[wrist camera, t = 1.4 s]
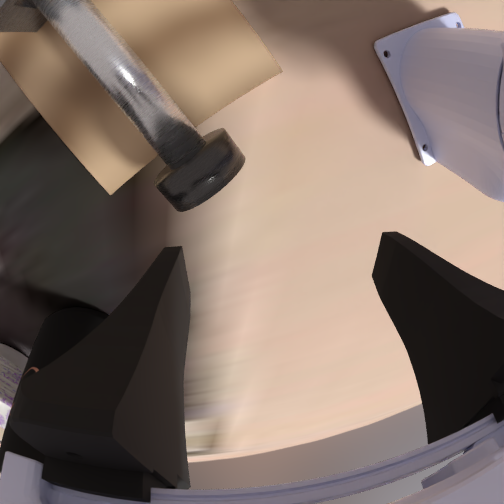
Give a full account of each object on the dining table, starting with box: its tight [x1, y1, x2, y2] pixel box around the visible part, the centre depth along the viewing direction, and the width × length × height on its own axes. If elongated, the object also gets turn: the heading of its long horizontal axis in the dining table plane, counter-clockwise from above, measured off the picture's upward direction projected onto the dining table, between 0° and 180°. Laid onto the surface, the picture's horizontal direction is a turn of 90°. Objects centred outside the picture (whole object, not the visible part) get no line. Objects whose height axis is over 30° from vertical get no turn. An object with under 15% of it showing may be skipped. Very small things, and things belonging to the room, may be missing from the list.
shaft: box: [32, 0, 245, 212], centre depth 10 cm, size 16×4×4 cm, turn 33°
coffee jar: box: [0, 307, 108, 473], centre depth 19 cm, size 11×11×18 cm
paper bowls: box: [0, 343, 28, 429], centre depth 25 cm, size 15×15×8 cm
